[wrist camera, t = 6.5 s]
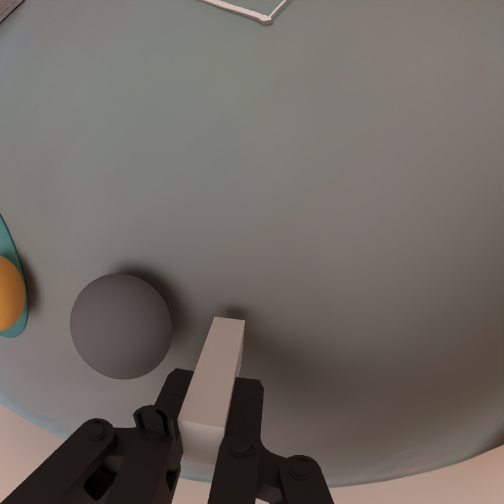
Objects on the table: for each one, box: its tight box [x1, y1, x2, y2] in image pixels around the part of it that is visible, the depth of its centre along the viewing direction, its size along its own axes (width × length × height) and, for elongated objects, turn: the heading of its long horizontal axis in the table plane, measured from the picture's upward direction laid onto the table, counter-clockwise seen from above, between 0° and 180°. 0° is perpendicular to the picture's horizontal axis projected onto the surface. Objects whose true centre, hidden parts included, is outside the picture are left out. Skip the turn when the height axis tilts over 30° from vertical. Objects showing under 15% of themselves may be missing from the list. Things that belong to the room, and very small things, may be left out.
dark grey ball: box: [70, 274, 172, 379], centre depth 14 cm, size 6×6×6 cm
